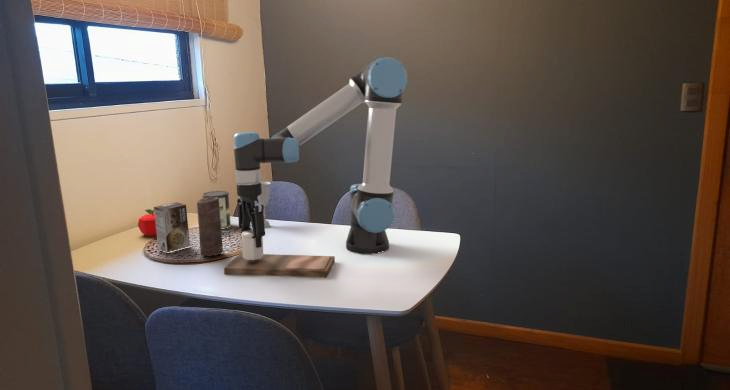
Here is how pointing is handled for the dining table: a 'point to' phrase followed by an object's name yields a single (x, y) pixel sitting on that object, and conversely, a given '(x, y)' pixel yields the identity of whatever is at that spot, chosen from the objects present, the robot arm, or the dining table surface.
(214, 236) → the brown tall block
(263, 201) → the chalice
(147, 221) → the apple
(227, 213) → the coffee can
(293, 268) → the post board
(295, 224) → the dining table surface
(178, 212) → the coffee box
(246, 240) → the white cylinder
